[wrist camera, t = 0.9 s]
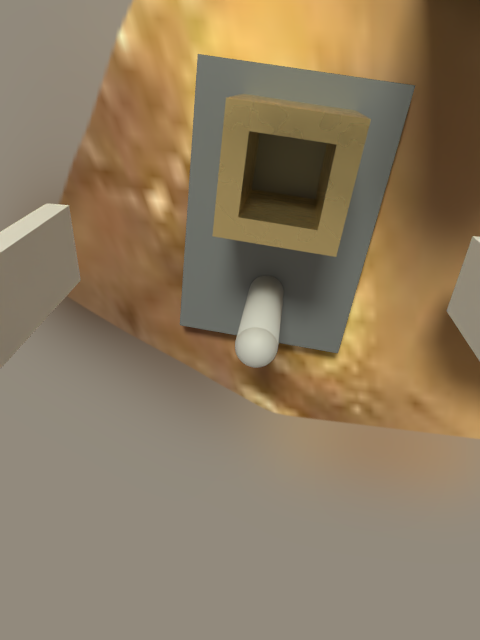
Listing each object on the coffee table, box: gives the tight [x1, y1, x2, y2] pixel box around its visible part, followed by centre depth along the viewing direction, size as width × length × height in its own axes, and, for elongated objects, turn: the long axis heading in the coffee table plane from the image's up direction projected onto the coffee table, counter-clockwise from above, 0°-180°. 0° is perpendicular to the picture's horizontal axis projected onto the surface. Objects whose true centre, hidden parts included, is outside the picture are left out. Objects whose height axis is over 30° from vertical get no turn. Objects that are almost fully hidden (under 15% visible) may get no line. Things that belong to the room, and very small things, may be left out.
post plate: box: [180, 54, 415, 368], centre depth 31 cm, size 15×22×12 cm
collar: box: [212, 94, 371, 257], centre depth 29 cm, size 8×8×8 cm
